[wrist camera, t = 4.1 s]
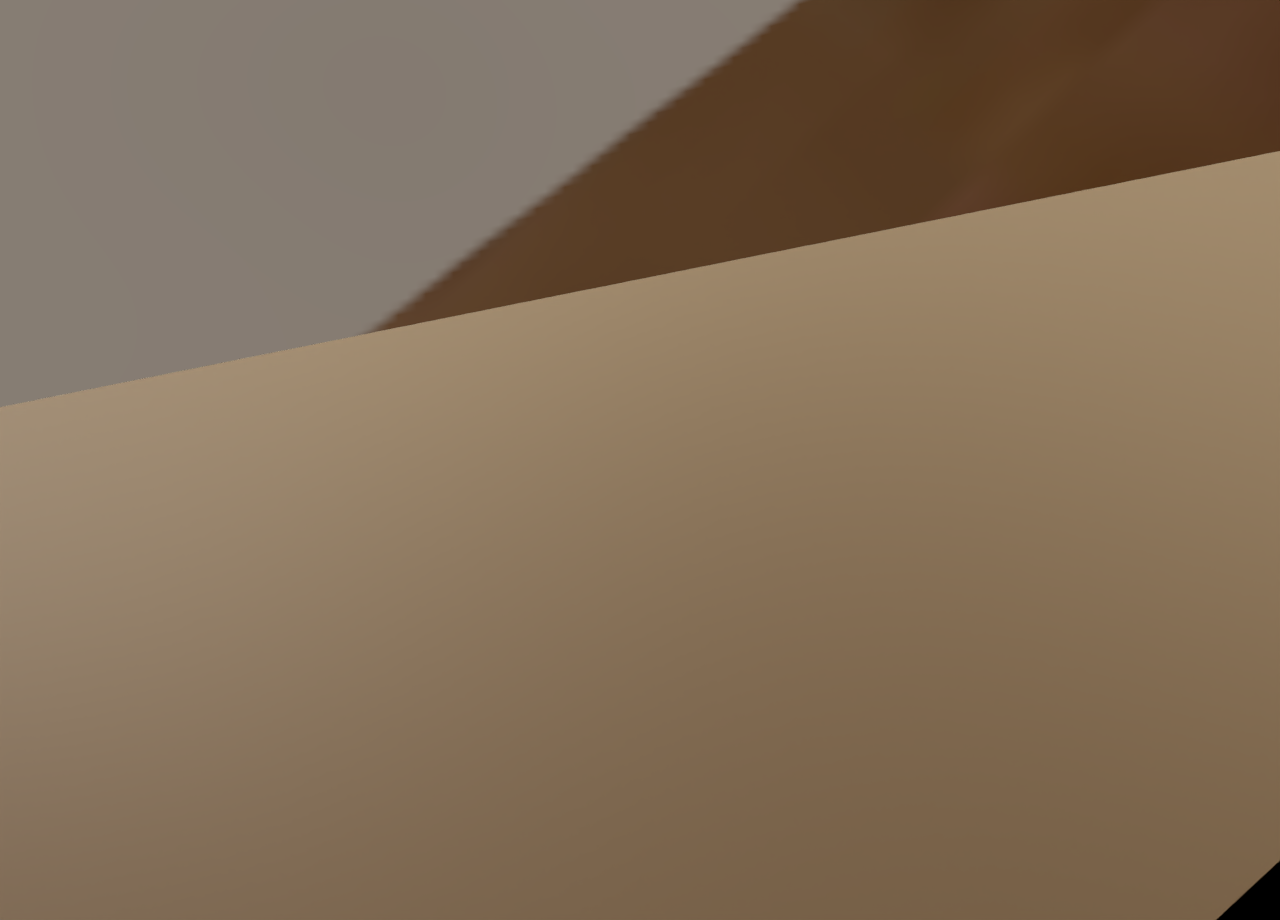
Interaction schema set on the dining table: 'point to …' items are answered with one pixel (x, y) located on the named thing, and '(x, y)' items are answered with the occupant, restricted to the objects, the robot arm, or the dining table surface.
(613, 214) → the dining table surface
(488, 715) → the tan wooden block
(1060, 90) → the dining table surface
